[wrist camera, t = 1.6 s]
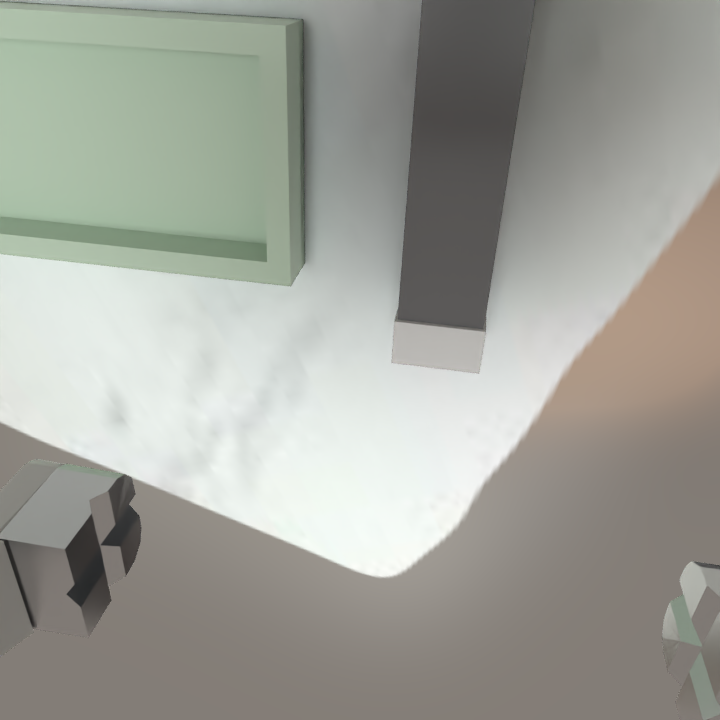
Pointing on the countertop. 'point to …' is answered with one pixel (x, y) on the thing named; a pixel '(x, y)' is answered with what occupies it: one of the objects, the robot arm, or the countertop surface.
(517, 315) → the countertop surface
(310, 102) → the countertop surface
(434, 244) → the dark grey bar
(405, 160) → the countertop surface
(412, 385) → the countertop surface
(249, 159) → the tray
